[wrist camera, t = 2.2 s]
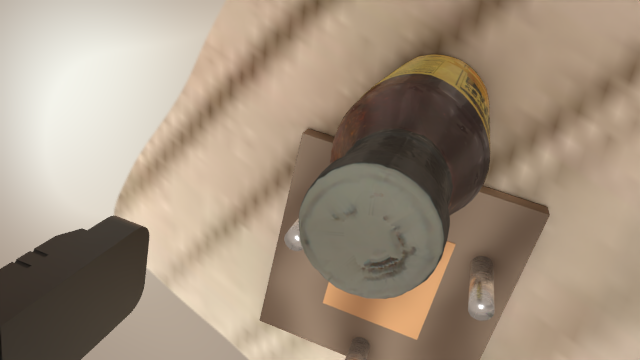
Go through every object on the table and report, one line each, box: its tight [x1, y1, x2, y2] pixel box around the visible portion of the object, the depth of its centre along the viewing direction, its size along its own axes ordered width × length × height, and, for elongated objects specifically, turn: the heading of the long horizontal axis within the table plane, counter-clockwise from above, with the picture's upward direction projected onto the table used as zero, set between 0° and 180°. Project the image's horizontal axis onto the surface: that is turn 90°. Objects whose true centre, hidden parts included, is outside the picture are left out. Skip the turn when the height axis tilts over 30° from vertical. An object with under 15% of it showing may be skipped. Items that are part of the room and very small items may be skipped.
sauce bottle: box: [299, 55, 490, 299], centre depth 22 cm, size 6×6×20 cm
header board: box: [260, 129, 549, 360], centre depth 36 cm, size 16×16×1 cm
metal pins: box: [284, 218, 494, 360], centre depth 34 cm, size 13×11×5 cm
